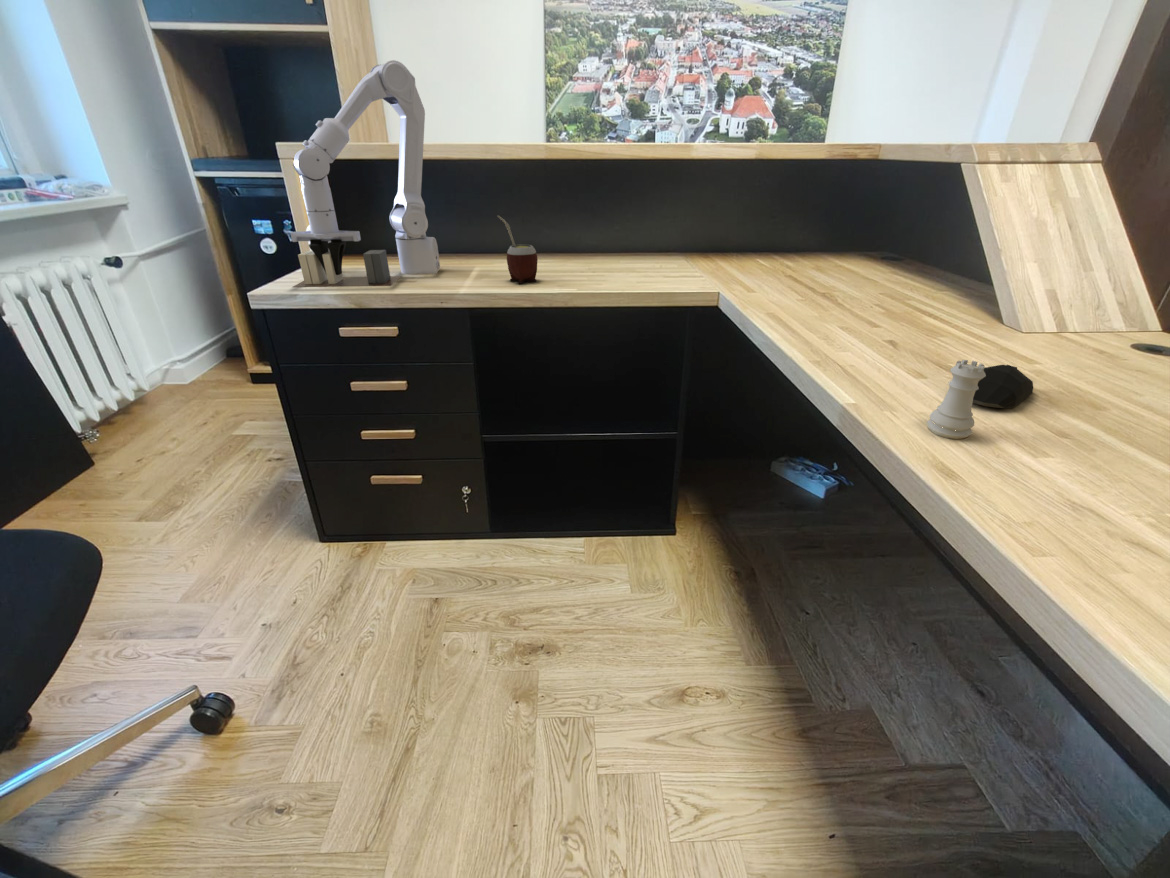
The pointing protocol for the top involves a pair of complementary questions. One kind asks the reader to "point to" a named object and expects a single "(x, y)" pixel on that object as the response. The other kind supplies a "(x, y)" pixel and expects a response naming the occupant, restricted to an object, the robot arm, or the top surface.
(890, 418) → the top surface
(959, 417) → the rook chess piece
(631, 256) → the top surface
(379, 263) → the grey books
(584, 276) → the top surface
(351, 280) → the shelf board
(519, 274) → the mate gourd
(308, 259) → the beige books
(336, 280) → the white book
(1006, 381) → the gaming mouse
